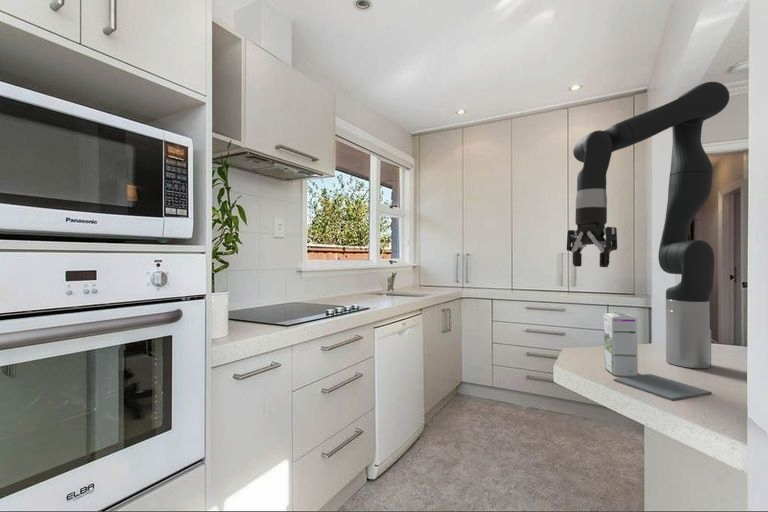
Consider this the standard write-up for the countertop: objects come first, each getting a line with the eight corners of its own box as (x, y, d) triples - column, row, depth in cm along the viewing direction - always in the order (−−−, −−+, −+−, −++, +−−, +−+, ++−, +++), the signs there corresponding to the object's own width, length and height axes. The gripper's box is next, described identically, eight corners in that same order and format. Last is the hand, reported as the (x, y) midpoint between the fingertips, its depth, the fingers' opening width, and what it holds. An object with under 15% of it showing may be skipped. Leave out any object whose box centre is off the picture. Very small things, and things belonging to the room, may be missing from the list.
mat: (650, 375, 93) (650, 373, 93) (711, 393, 80) (711, 391, 80) (613, 380, 89) (613, 378, 89) (671, 400, 76) (671, 398, 76)
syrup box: (638, 377, 91) (638, 316, 91) (611, 375, 93) (611, 315, 93) (628, 370, 97) (628, 313, 97) (603, 368, 98) (603, 312, 98)
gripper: (625, 205, 98) (624, 267, 98) (580, 211, 112) (579, 266, 112) (603, 203, 96) (602, 267, 96) (560, 209, 109) (559, 266, 109)
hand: (590, 266), depth 104 cm, fingers open, 8 cm apart
